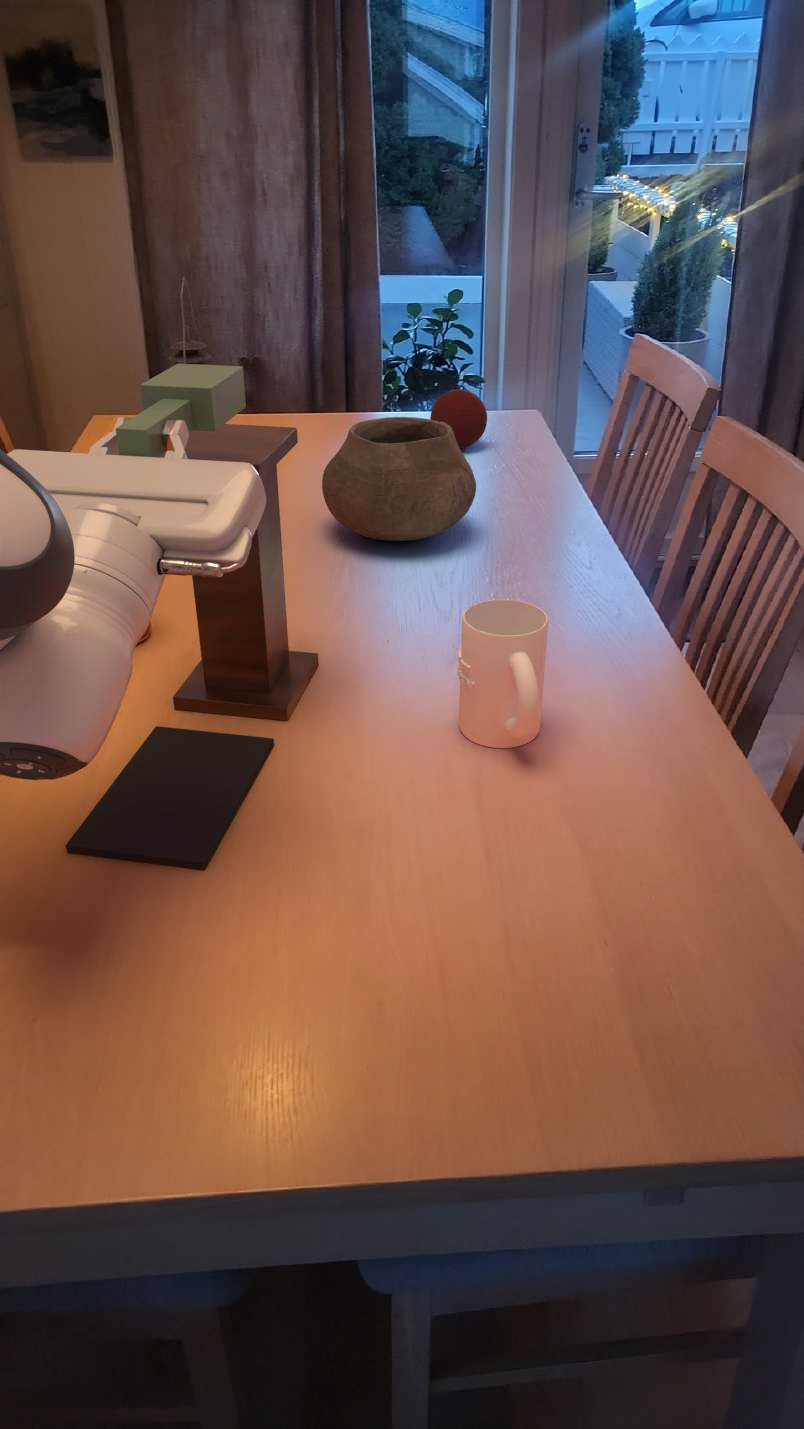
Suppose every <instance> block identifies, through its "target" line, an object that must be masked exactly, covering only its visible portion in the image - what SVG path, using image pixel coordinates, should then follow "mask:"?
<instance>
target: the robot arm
mask: <svg viewBox="0 0 804 1429" xmlns="http://www.w3.org/2000/svg"><path fill="white" fill-rule="evenodd" d="M131 418H132V417H125V416H124V417H123V416H119V417H117V419H116V421H115V424H114V427H113V429H112V431H109V432H108V433H107V434H105V435H104V436H103V437H102V438H100V439H99V440H97V441H96V442H95V443H93V444H92V445H91V446H90V448H89V451H88V452H68V451H55V450H53V451H52V450H36V449H23V448H22V449H21V448H20V449H19V448H17V449H13V450H11V451H10V452H7V453H6V451H4V450H3V449H1V448H0V776H3V777H8V778H13V779H20V780H28V781H38V780H41V781H43V780H44V781H45V780H51V781H52V780H57V779H61V778H65V777H68V776H70V775H73V774H75V773H77V772H79V771H81V770H82V769H85V767H87V766H89V764H90V763H91V762H92V761H93V760H94V759H95V758H96V757H97V755H98V754H99V753H100V750H101V749H102V747H103V745H104V743H105V741H106V740H107V738H108V735H109V733H110V731H111V729H112V727H113V725H114V722H115V721H116V717H117V715H118V713H119V711H120V708H121V705H122V703H123V701H124V698H125V695H126V693H127V690H128V687H129V684H130V681H131V678H132V674H133V666H134V665H133V658H134V657H133V656H134V652H135V648H136V646H137V645H138V644H137V642H138V641H139V640H140V638H141V637H142V636H143V634H144V633H145V631H146V630H147V628H148V625H149V622H151V619H152V615H153V613H154V610H155V607H156V605H157V603H158V602H157V601H158V599H159V596H160V593H161V590H162V587H163V584H164V581H165V578H166V576H167V575H168V576H182V577H185V576H192V575H198V576H203V577H207V578H218V577H222V576H223V573H227V572H231V571H234V570H236V569H237V568H240V567H242V566H243V565H244V564H245V562H246V560H247V558H248V554H249V551H250V548H251V543H252V537H253V535H254V533H255V531H256V529H257V526H258V524H259V522H260V519H261V517H262V514H263V512H264V509H265V506H266V494H265V489H264V486H263V483H262V480H261V478H260V476H259V474H258V472H257V471H256V469H255V468H254V467H253V465H251V464H250V463H245V462H228V461H210V460H193V459H188V458H187V455H186V452H185V447H186V444H187V442H188V439H189V431H188V429H187V426H186V423H185V421H183V420H165V421H164V426H163V427H162V429H161V432H160V436H161V438H162V441H163V442H164V446H165V448H166V450H167V452H166V454H165V457H164V458H158V457H141V456H124V455H119V449H118V442H117V435H116V428H117V427H119V426H120V425H122V424H123V423H125V422H127V421H128V420H130V419H131ZM173 451H174V452H173Z"/></svg>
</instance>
